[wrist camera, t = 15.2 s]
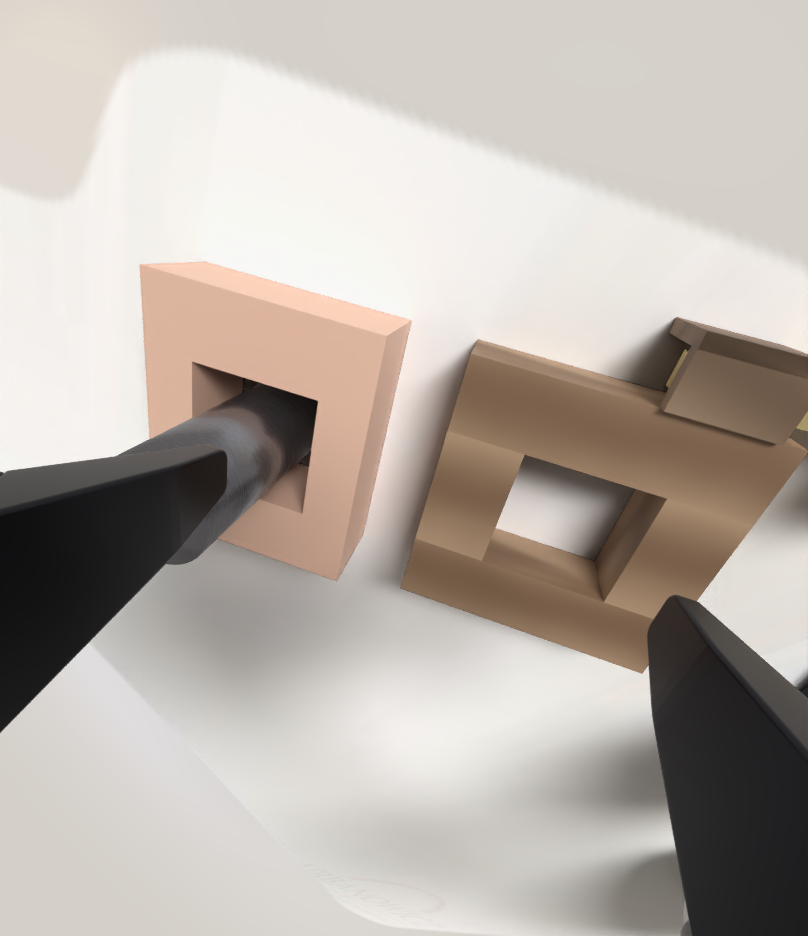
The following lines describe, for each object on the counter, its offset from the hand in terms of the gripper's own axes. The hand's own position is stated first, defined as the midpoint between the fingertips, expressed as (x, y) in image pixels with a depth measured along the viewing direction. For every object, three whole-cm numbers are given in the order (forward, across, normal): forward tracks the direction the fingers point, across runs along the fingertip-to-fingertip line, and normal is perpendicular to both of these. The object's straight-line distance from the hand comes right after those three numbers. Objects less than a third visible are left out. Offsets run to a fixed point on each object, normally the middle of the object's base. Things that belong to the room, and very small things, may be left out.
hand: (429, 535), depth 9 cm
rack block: (+12, +9, +4) cm, 16 cm away
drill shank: (+12, +9, +4) cm, 16 cm away
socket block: (+13, -5, +3) cm, 14 cm away
